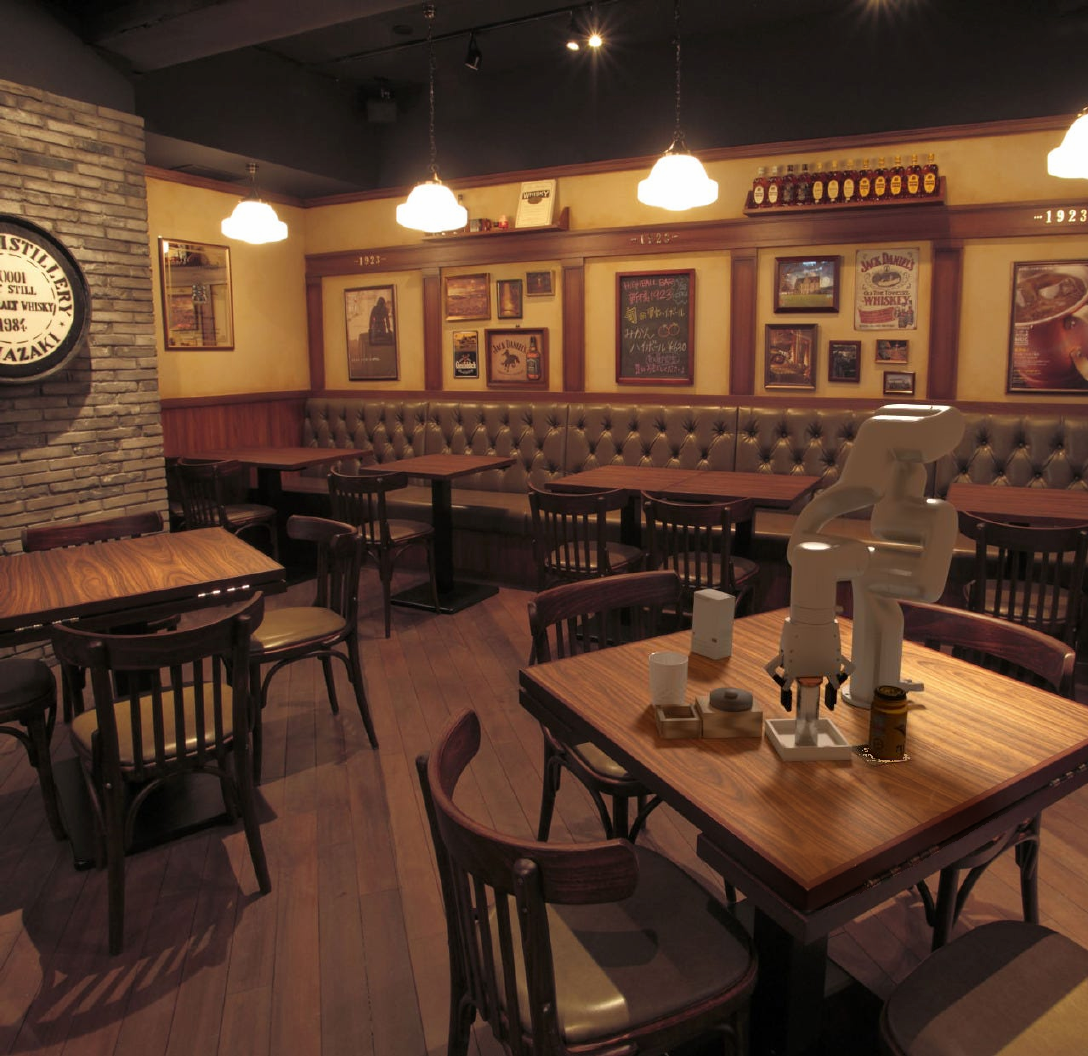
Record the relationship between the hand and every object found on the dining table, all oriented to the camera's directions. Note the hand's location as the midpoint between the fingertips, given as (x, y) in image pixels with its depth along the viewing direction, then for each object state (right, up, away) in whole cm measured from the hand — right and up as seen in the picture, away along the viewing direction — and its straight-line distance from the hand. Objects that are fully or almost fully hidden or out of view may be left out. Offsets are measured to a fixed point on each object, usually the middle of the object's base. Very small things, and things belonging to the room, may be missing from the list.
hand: (808, 707), depth 156 cm
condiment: (+12, -8, -2) cm, 15 cm away
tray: (0, -7, +1) cm, 7 cm away
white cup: (-22, -4, +21) cm, 31 cm away
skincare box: (-8, +2, +49) cm, 50 cm away
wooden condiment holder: (-16, -6, +9) cm, 19 cm away
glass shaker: (0, -7, +1) cm, 7 cm away
